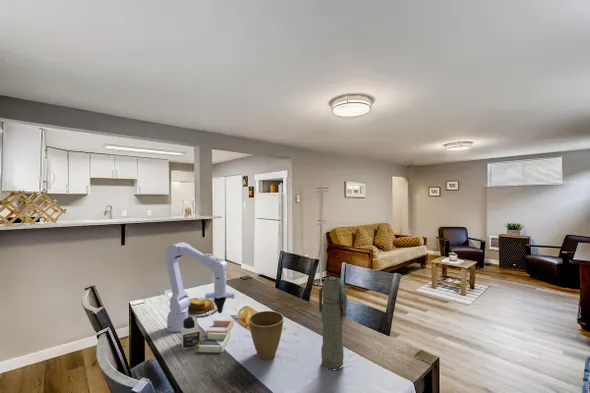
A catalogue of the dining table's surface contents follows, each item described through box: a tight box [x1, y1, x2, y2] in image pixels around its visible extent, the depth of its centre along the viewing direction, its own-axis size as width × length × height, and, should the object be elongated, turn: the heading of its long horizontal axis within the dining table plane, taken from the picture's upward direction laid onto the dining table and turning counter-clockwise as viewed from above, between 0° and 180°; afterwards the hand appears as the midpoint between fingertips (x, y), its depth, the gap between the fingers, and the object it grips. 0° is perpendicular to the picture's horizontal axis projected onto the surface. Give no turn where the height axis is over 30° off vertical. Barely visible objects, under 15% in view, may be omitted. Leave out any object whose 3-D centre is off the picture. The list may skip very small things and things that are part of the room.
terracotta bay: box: [205, 319, 235, 337], centre depth 143 cm, size 10×12×2 cm
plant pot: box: [248, 310, 285, 360], centre depth 121 cm, size 15×15×16 cm
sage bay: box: [198, 332, 231, 353], centre depth 129 cm, size 10×12×2 cm
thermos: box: [318, 275, 348, 370], centre depth 115 cm, size 9×12×35 cm
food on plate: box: [188, 296, 218, 317], centre depth 170 cm, size 25×25×7 cm
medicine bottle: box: [180, 316, 201, 351], centre depth 129 cm, size 7×7×12 cm
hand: (220, 312), depth 140 cm, fingers closed
